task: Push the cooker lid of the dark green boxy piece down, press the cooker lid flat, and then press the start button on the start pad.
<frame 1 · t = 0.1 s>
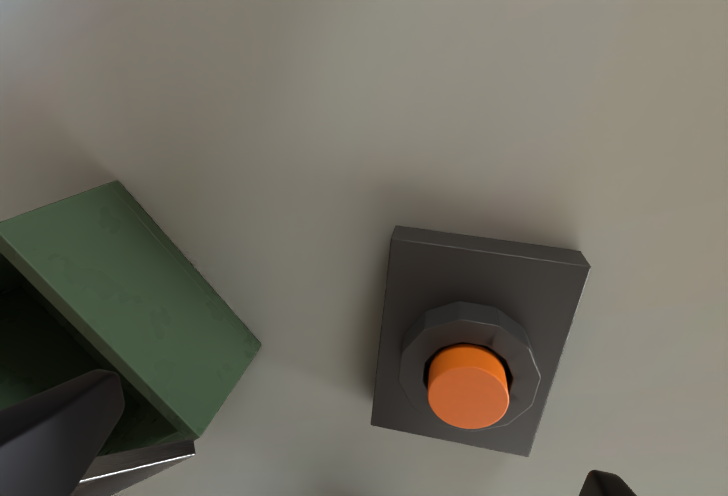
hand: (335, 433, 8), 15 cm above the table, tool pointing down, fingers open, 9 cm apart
start pad: (464, 337, 24), on the table
dark green boxy piece: (136, 309, 27), on the table
start button: (466, 386, 20), point 4 cm above the table, slide at 0.1 cm
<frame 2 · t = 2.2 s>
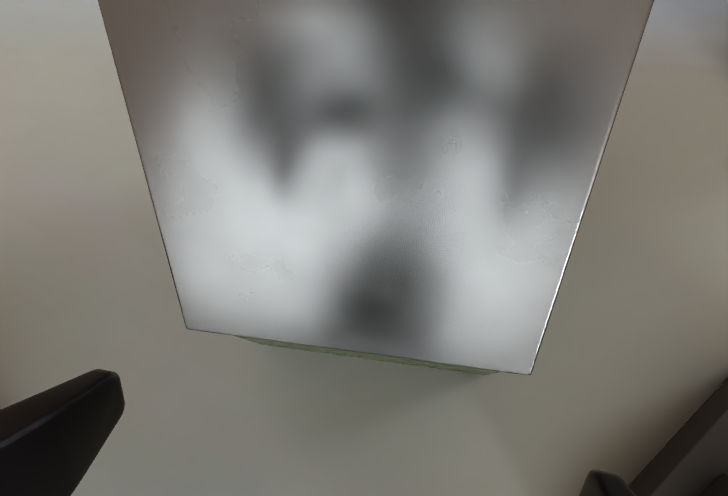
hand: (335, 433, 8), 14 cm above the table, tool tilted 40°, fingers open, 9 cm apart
cooker lid: (352, 156, 11), point 13 cm above the table, hinge at 50.0°
dark green boxy piece: (384, 242, 24), on the table
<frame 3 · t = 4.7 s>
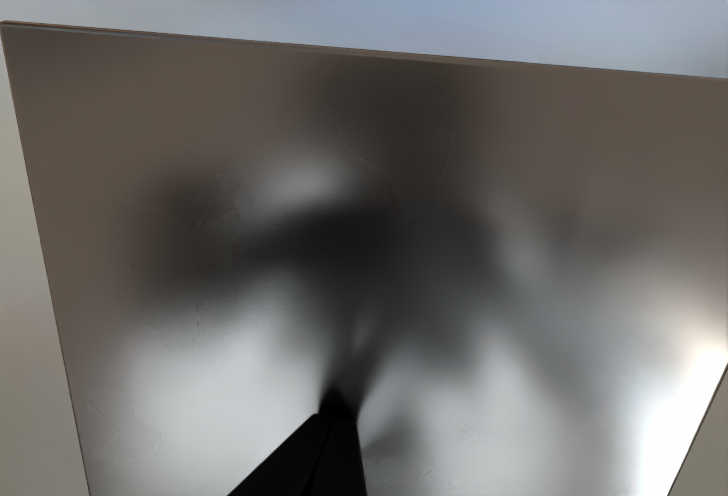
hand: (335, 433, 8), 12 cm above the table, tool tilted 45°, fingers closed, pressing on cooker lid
cooker lid: (340, 418, 8), point 12 cm above the table, hinge at 41.3°, touching gripper
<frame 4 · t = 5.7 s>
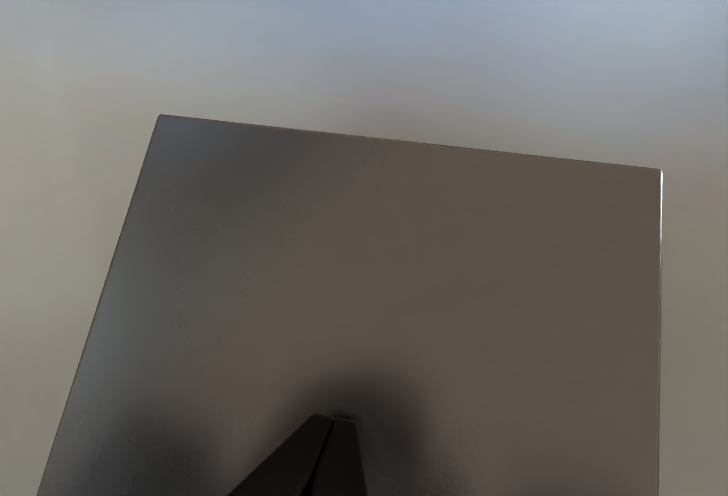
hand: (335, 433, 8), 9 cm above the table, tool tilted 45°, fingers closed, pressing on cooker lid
cooker lid: (338, 442, 9), point 9 cm above the table, hinge at 6.9°, touching gripper
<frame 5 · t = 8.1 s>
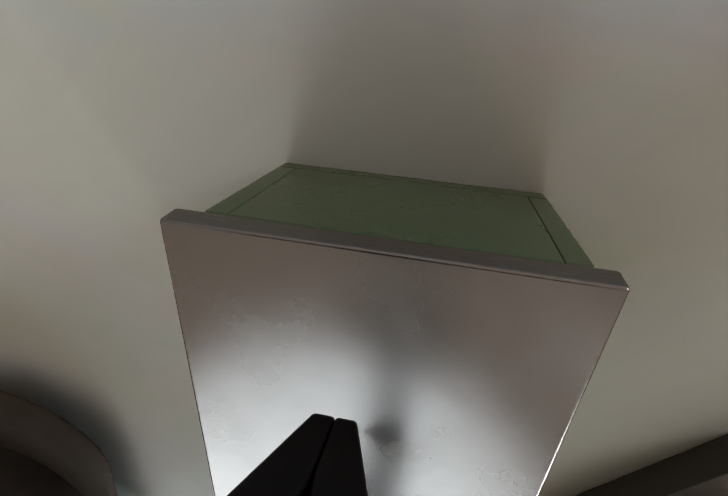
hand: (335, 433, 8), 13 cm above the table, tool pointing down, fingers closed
cooker lid: (364, 419, 14), point 8 cm above the table, hinge at 5.9°
casserole: (50, 487, 35), on the table
dark green boxy piece: (394, 298, 22), on the table
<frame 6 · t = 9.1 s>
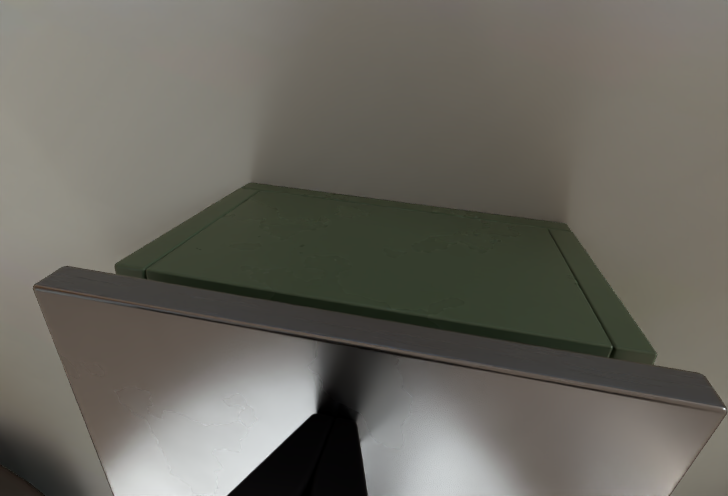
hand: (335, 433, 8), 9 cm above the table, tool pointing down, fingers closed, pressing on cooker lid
dark green boxy piece: (383, 343, 18), on the table
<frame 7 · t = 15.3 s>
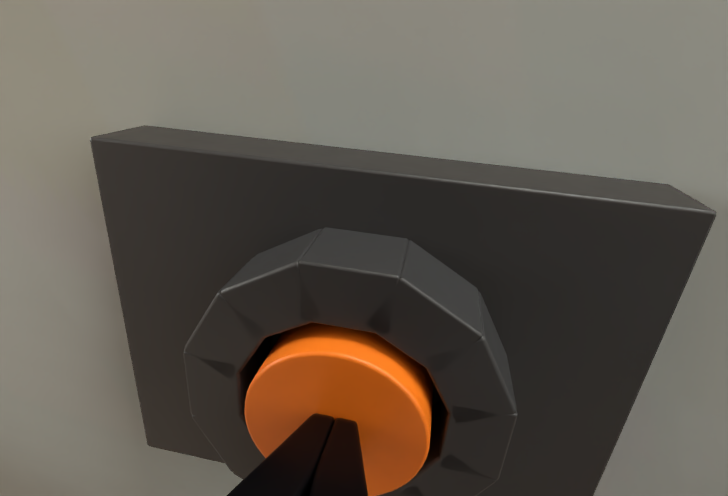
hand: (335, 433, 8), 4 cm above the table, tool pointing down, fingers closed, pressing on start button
start pad: (369, 318, 12), on the table
start button: (343, 399, 9), point 3 cm above the table, slide at -0.8 cm, touching gripper
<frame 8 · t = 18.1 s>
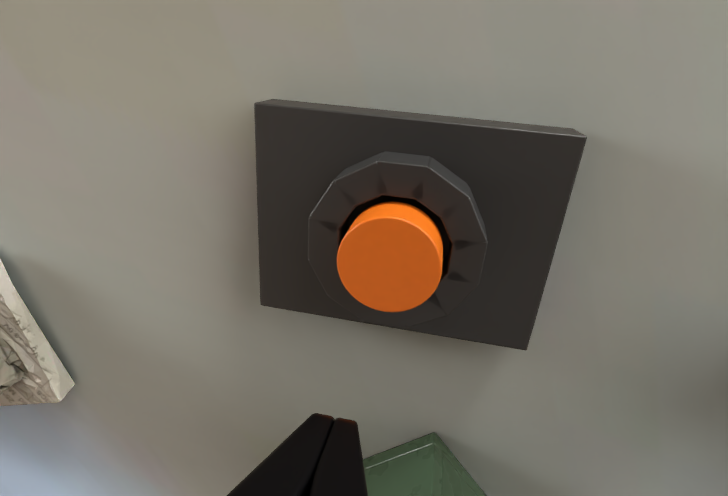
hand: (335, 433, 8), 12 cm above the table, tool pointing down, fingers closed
start pad: (402, 219, 19), on the table
start button: (391, 256, 15), point 4 cm above the table, slide at 0.1 cm
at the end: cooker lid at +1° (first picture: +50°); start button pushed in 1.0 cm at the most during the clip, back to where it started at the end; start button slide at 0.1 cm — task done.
